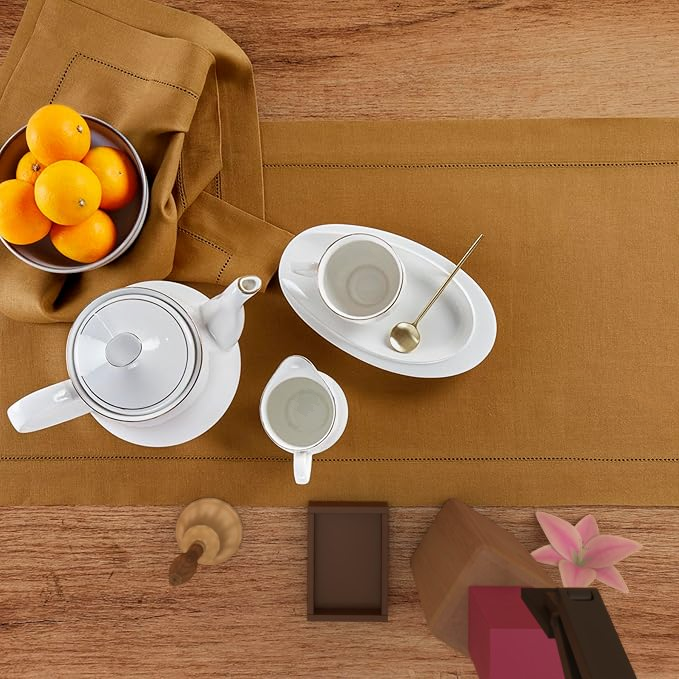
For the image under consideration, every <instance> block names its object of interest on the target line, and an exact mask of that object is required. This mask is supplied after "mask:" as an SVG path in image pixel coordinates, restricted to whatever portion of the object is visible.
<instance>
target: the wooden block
mask: <svg viewBox="0 0 679 679" xmlns="http://www.w3.org/2000/svg"><path fill="white" fill-rule="evenodd" d="M530 553H531V552H530V551H528V549H527V548H526V547H525V546H524V545H523V544H522V543H521V541H520V540H519V539H518V538H517V536H515V535H514V534H513V533H512V532H510V531H509V530H508V529H505V528H504V527H502V526H500V525H499V524H498V523H497V522H495V521H493V520H492V519H490V518H488V517H487V516H485V515H483V514H482V513H480V512H479V511H477V510H475V508H474V509H473V508H472V507H471V506H469V505H468V504H466V503H465V502H463V501H461V500H460V499H459V498H453V497H451V498H449V499H448V500H447V501H446V502H445V503H444V504H443V507H442V508H441V510H439V513H438V514H437V516H436V517H435V519H434V520H433V522H432V524H431V525H430V527H429V528H428V530H426V533H425V535H424V536H423V537H422V539H421V540H420V542H419V544H418V546H417V547H416V548H415V550H414V552H413V554H412V555H411V557H410V560H409V566H410V570H411V572H412V576H413V581H414V583H415V587H416V591H417V594H418V597H419V600H420V605H421V607H422V611H423V614H424V618H425V622H426V625H427V628H428V631H429V632H430V633H431V636H432V637H434V638H436V639H437V640H439V641H440V642H442V643H444V644H445V646H448V647H449V648H451V649H453V650H454V651H456V652H457V653H459V654H461V655H462V656H464V657H466V658H467V659H468V660H470V661H471V662H472V659H471V657H470V654H469V651H468V587H469V586H534V587H535V588H556V587H560V586H559V584H557V583H556V581H555V580H554V579H553V578H552V577H551V575H549V573H548V572H547V571H546V570H545V568H544V567H543V566H542V565H541V564H540V562H537V561H536V560H535V559H534V557H533V556H532V555H531V554H530Z"/></svg>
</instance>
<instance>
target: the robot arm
mask: <svg viewBox="0 0 679 679" xmlns="http://www.w3.org/2000/svg"><path fill="white" fill-rule="evenodd" d="M521 599H522V600H523V602H524V603H525V605H526V606H527V608H528V609H529V611H530V612H531V614H532V615H533V617H534V618H535V619H536V621H537V622H538V624H539V625H540V627H541V628H542V630H543V631H544V633H545V634H546V636H547V637H548V639H555V640H556V644H557V648H558V653H559V657H560V661H561V665H562V669H563V673H564V677H565V679H638V677H637V675H636V672H635V671H634V668H633V666H632V664H631V661H630V659H629V657H628V655H627V652H626V650H625V648H624V646H623V643H622V641H621V639H620V636H619V634H618V632H617V630H616V627H615V625H614V623H613V620H612V618H611V616H610V613H609V612H608V609H607V606H606V605H605V602H604V599H603V597H602V595H601V593H600V590H599V589H598V587H589V586H588V587H563V586H561V587H560V586H559V587H556V588H521Z"/></svg>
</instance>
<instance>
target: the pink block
mask: <svg viewBox="0 0 679 679" xmlns="http://www.w3.org/2000/svg"><path fill="white" fill-rule="evenodd" d="M521 588H535V587H534V586H469V587H468V651H469V654H470V657H471V659H472V661H471V662H472V664H473V666H474V669H475V671H476V674H477V676H478V679H565V677H564V673H563V669H562V665H561V661H560V657H559V653H558V648H557V644H556V640H555V639H548V637H547V636H546V634H545V633H544V631H543V630H542V628H541V627H540V625H539V624H538V622H537V621H536V619H535V618H534V617H533V615H532V614H531V612H530V611H529V609H528V608H527V606H526V605H525V603H524V602H523V600H522V599H521Z"/></svg>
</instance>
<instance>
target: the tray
mask: <svg viewBox="0 0 679 679" xmlns="http://www.w3.org/2000/svg"><path fill="white" fill-rule="evenodd" d="M389 508H390V507H389V504H388V501H380V500H379V501H376V500H375V501H373V500H371V501H370V500H367V501H365V500H364V501H363V500H362V501H361V500H309V501H308V504H307V530H306V531H307V533H306V534H307V537H306V538H307V539H306V540H307V543H306V544H307V547H306V549H307V550H306V552H307V553H306V554H307V557H306V559H307V560H306V561H307V562H306V563H307V564H306V566H307V568H306V571H307V572H306V586H307V587H306V622H326V623H328V622H330V623H331V622H332V623H333V622H336V623H340V622H341V623H345V622H346V623H388V622H389V535H390V534H389V526H390V524H389V521H390V520H389V519H390V518H389V517H390V516H389V512H390V510H389Z"/></svg>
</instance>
